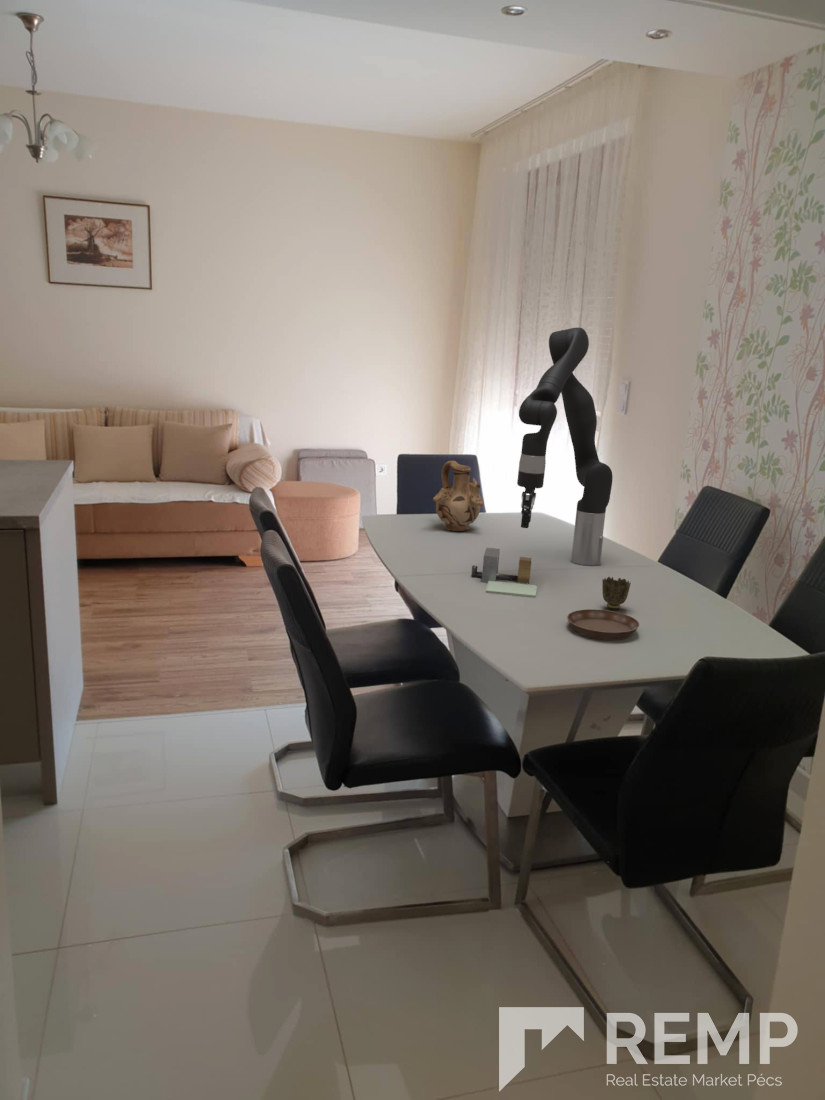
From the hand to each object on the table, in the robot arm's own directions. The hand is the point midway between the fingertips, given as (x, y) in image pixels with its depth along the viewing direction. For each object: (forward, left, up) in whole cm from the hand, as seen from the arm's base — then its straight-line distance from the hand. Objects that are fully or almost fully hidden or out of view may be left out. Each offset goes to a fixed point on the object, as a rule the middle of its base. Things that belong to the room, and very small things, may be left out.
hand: (525, 524), depth 245 cm
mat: (+2, +11, -17) cm, 21 cm away
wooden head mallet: (+6, +1, -17) cm, 18 cm away
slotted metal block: (+9, +1, -17) cm, 19 cm away
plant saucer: (-22, +38, -17) cm, 48 cm away
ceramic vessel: (+26, -59, -17) cm, 66 cm away
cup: (-26, +19, -17) cm, 37 cm away
